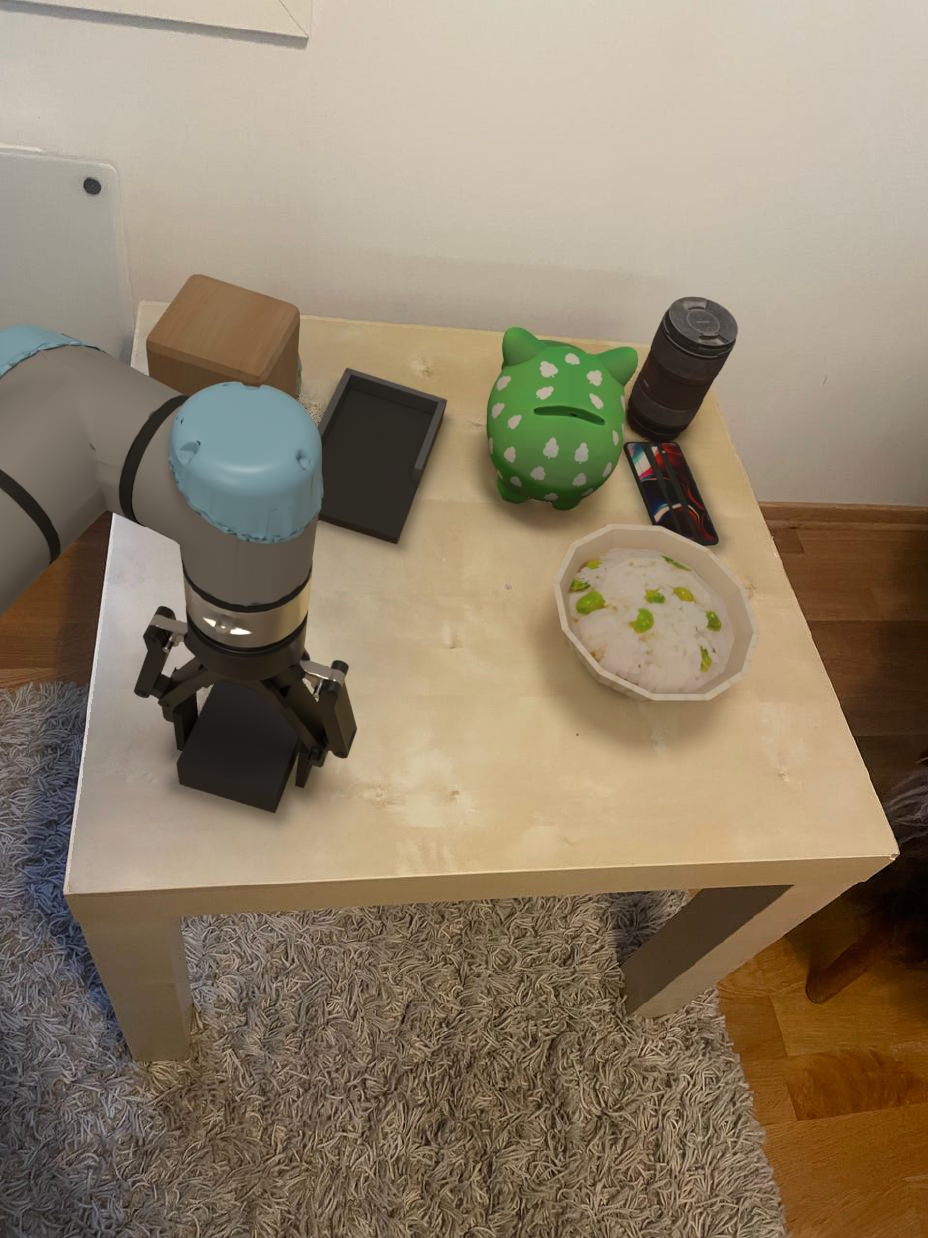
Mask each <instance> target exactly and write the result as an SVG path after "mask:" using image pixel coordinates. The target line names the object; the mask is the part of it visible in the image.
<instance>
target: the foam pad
mask: <svg viewBox="0 0 928 1238" xmlns="http://www.w3.org/2000/svg"><path fill="white" fill-rule="evenodd" d="M301 745H302V740H301V739H300V738H299V736H298V735H297V734H296V732H295V731H294V730H293V729H292V727H291V726H290V725H289V723H288V722H287V721H286V719H285V718H284V717H283V715H282V714H281V713H280V711H279V710H278V709H274V708H270V707H269V706H268V705H267V704H266V702H265V701H264V700H263V698H262V697H261V696H260V694H259V693H258V692H256V691H252V690H250V689H248V688H246V687H244V686H240V685H234V684H230V683H226V682H223V681H220V680H218V681H217V682H216V683H214V684H213V685H211V689H210V691H209V693H208V695H207V697H206V699H205V702H204V703H203V705H202V708H201V710H200V712H199V713H198V718H197V721H196V723H195V725H194V727H193V729H192V731H191V733H190V736H189V738H188V740H187V742H186V744H185V746H184V748H183V751H181V753H180V754H179V757H178V760H177V761H176V769H177V776H178V783H179V785H180V786H184V787H187V788H190V789H192V790H193V789H194V790H196V791H200V792H203V793H206V794H210V795H213V796H217V797H220V798H223V799H225V800H230V801H233V802H236V803H240V804H243V805H246V806H248V807H253V808H255V809H259V810H262V811H266V812H269V813H271V814H276V813H277V810H278V808H279V805H280V802H281V800H282V797H283V795H284V793H285V789H286V788H287V784H288V782H289V779H290V776H291V773H292V771H293V769H294V766H295V763H296V760H297V759H298V754H299V750H300V747H301Z"/></svg>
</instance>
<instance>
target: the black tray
mask: <svg viewBox="0 0 928 1238" xmlns="http://www.w3.org/2000/svg"><path fill="white" fill-rule="evenodd" d="M447 404H448V399H446V398H443V397H440V396H436V395H434V394H430V393H427V392H424V391H422V390H418V389H415V388H412V387H409V386H405V385H403V384H399V383H396V382H393V381H390V380H387V379H384V378H380V377H377V376H375V375H371V374H369V373H365V372H362V371H359V370H356V369H353V368H350V367H345V369H344V371H343V373H342V376H341V378H340V380H339V382H338V384H337V386H336V388H335V390H334V392H333V394H332V396H331V398H330V400H329V403H328V405H327V407H326V409H325V411H324V413H323V415H322V417H321V419H320V421H319V423H318V425H317V428H318V431H319V434H320V438H321V443H322V477H323V493H324V495H323V498H322V499H321V502H322V503H321V509H320V512H319V514H318V520H319V521H324V522H325V523H326V522H327V523H329V524H331V525H332V524H333V525H335V526H339V527H343V528H346V529H348V530H352V531H355V532H358V533H360V534H365V535H367V536H371V537H374V538H377V539H380V540H382V541H386V542H389V543H393V544H398V543H399V540H400V537H401V535H402V531H403V529H404V526H405V523H406V521H407V517H408V515H409V512H410V509H411V507H412V504H413V501H414V498H415V496H416V493H417V490H418V487H419V485H420V482H421V479H422V476H423V474H424V471H425V469H426V466H427V463H428V461H429V458H430V455H431V452H432V449H433V447H434V445H435V441H436V438H437V436H438V433H439V431H440V428H441V425H442V423H443V420H444V415H445V412H446V408H447Z"/></svg>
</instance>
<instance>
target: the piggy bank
mask: <svg viewBox="0 0 928 1238" xmlns="http://www.w3.org/2000/svg"><path fill="white" fill-rule="evenodd" d="M501 352H502V359H503V361H502V363H501V369H500V370H501V371H500V373H499V374H498V376H497V378H496V380H495V382H494V383H493V385H492V387H491V390H490V393H489V396H488V400H487V406H486V427H485V428H486V438H487V439H486V440H487V446H488V451H489V456H490V458H491V462H492V464H493V467H494V470H495V471H496V486H497V490H498V492H499V494H500V496H501V498H502V499H503V501H505V502H508V503H511V504H521V503H525V502H526V501H528V499H531V500H534V501H538V502H542V503H547V504H548V503H549V504H551V506H552V508H554V509H555V510H558V511H569V510H572V509H575V508H576V507H577V506H578V505H580V503H581V502H582V501H583V500H584V499H586V498H588V497H589V496H591V495H592V494H594V493H595V492H596V491H598V489H600V488H601V487H603V485H604V484H605V483H606V482H607V481H608V480H609V478H610V477H611V475H612V474H613V473H614V471H615V469H616V467H617V465H618V463H619V460H620V457H621V454H622V451H623V446H624V440H625V432H626V431H625V429H626V418H627V411H626V396H625V395H626V394H625V387H626V385H627V384H628V383H629V381H630V380H631V379H632V377H633V376H634V374H635V373H636V370H637V368H638V366H639V354H638V351H637V349H635V348H634V347H631V346H627V345H626V346H619V347H615V348H612V349H607V350H605V351H602V352H598V353H596V354H593V353H589V352H586V351H585V350H584V349H582V348H580V347H579V346H576V345H574V344H571V343H568V342H563V341H559V340H553V339H539V338H538V337H536V336H535V335H534V334H533V333H531V332H530V331H528V330H527V329H526V328H523V327H521V326H511V327H509V328H507V329H506V330H505V332H504V334H503V337H502V344H501Z"/></svg>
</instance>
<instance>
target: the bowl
mask: <svg viewBox="0 0 928 1238" xmlns="http://www.w3.org/2000/svg"><path fill="white" fill-rule="evenodd" d="M552 585H553V590H554V596H555V601H556V605H557V611H558V612H557V613H558V617H559V621H560V622H559V623H560V626H561V627H560V628H561V631H562V634H563V637H564V640H565V644H566V646H568V648H569V649H570V650H571V651H572V653H573V654H574V655H575V656H576V657H577V659H578V660H579V661H580V663H581V664H582V665H583V666H584V667H585V668H586V669H587V671H588V672H589V673H590V674H591V676H592V677H593V678H594V679H595V680H596V682H599V683H600V684H603V685H605V686H607V687H609V688H610V689H612V690H615V691H617V692H619V693H621V694H623V695H625V696H627V697H629V698H631V699H634V700H636V701H637V702H639V703H696V702H708V701H710V700H712V699H714V698H715V697H716V696H718V695H719V694H721V693H723V692H724V691H725V690H727V689H729V688H730V687H732V686H733V685H735V684H736V683H738V682H740V681H741V680H742V679H744V678H746V677H747V676H749V672H750V669H751V665H752V662H753V660H754V659H753V658H754V655H755V652H756V649H757V646H758V642H759V639H760V638H759V637H760V635H761V630H760V628H759V625H758V622H757V619H756V616H755V613H754V610H753V606H752V604H751V600H750V598H749V597H750V596H749V595H748V592H747V588H746V586H745V585H744V584H743V583H742V582H741V580H740V579H738V578H737V577H736V575H734V573H732V571H731V570H730V569H729V568H728V567H727V566H726V565H725V564H724V563H723V561H722V560H720V558H719V557H718V556H716V555H715V553H714V552H713V551H712V550H711V549H710V548H708V547H707V546H702V545H700V544H698V543H696V542H694V541H691V540H689V539H687V538H685V537H683V536H681V535H679V534H677V533H674V532H672V531H670V530H668V529H666V528H664V527H662V526H653V525H649V524H648V525H647V524H628V523H627V524H626V523H625V524H624V523H610V524H608V525H605V526H604V527H601V528H599V529H597V530H596V531H593V532H591V533H589V534H587V535H586V536H585V535H584V536H583V537H581V538H579V539H577V540H575V541H573V542H571V543H570V545H569V547H568V549H567V552H566V553H565V555H564V557H563V559H562V562H561V564H560V566H559V567H558V570H557V571H556V573H555V576H554V578H553V580H552Z"/></svg>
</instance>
